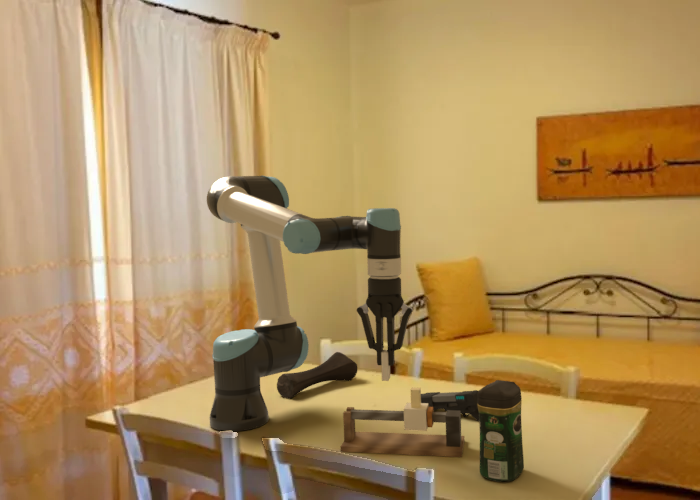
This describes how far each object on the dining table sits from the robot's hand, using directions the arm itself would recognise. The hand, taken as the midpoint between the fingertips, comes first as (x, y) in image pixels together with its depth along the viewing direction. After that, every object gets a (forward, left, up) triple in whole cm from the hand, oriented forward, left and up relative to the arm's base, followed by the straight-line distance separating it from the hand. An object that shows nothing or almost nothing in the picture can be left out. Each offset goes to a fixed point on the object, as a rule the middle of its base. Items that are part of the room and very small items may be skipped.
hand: (386, 379), depth 154 cm
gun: (+12, +25, -16) cm, 32 cm away
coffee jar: (+26, -13, -16) cm, 33 cm away
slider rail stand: (+4, 0, -15) cm, 16 cm away
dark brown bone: (-29, +46, -16) cm, 57 cm away
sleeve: (+7, 0, -11) cm, 13 cm away
